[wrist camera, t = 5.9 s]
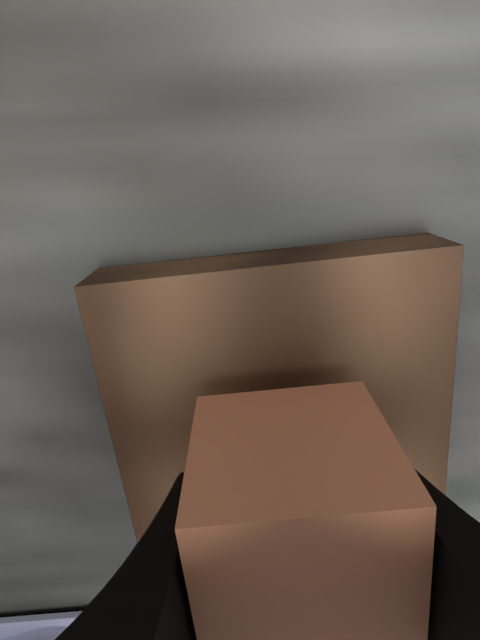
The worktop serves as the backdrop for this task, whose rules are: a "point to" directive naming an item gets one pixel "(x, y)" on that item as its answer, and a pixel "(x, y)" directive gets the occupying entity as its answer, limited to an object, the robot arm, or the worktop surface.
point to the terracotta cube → (303, 519)
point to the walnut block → (273, 344)
